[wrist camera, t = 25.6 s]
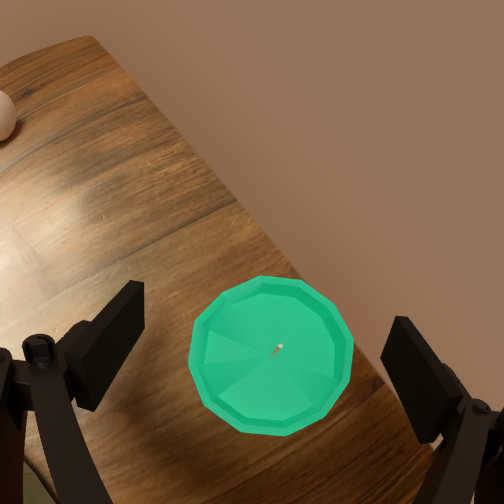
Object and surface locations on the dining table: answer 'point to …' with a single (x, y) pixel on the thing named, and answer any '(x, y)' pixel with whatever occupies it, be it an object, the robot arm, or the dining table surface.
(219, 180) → the dining table surface
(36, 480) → the bowl
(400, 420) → the dining table surface
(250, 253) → the dining table surface
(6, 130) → the egg
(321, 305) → the candle
